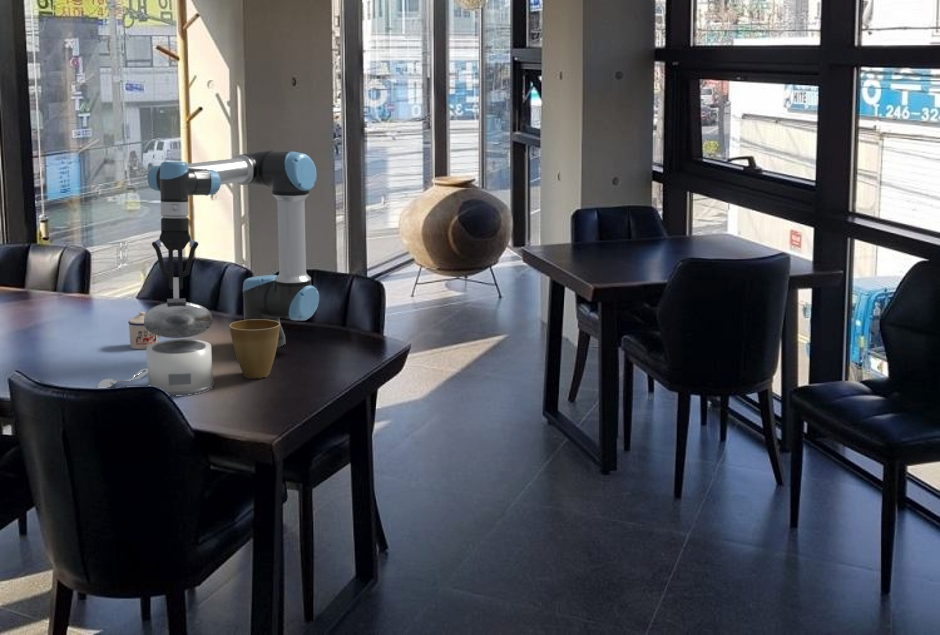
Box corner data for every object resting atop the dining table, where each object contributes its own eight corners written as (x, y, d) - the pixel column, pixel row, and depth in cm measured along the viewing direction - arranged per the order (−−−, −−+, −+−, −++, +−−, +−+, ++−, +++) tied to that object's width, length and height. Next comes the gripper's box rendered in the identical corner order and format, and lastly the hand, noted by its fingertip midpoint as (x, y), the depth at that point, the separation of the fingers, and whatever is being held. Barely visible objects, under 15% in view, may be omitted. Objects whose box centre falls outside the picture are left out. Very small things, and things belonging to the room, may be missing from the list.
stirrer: (140, 361, 332) (153, 363, 330) (141, 372, 333) (154, 374, 331) (93, 381, 315) (105, 384, 313) (94, 393, 316) (107, 395, 314)
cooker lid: (212, 336, 328) (212, 331, 328) (211, 301, 309) (211, 296, 310) (146, 339, 323) (146, 334, 324) (141, 304, 305) (141, 299, 306)
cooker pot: (213, 376, 330) (211, 337, 327) (214, 394, 312) (212, 353, 310) (148, 379, 326) (146, 340, 323) (146, 398, 308) (144, 357, 305)
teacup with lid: (135, 351, 357) (133, 316, 354) (125, 345, 364) (123, 311, 361) (170, 346, 364) (169, 312, 361) (160, 340, 371) (159, 306, 368)
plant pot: (291, 375, 332) (290, 324, 329) (251, 385, 322) (249, 332, 318) (261, 365, 342) (259, 316, 338) (221, 375, 331) (219, 324, 328)
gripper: (150, 217, 302) (151, 302, 306) (198, 218, 306) (200, 302, 309) (150, 216, 310) (152, 299, 313) (198, 216, 313) (199, 298, 316)
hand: (176, 300), depth 311 cm, fingers closed
